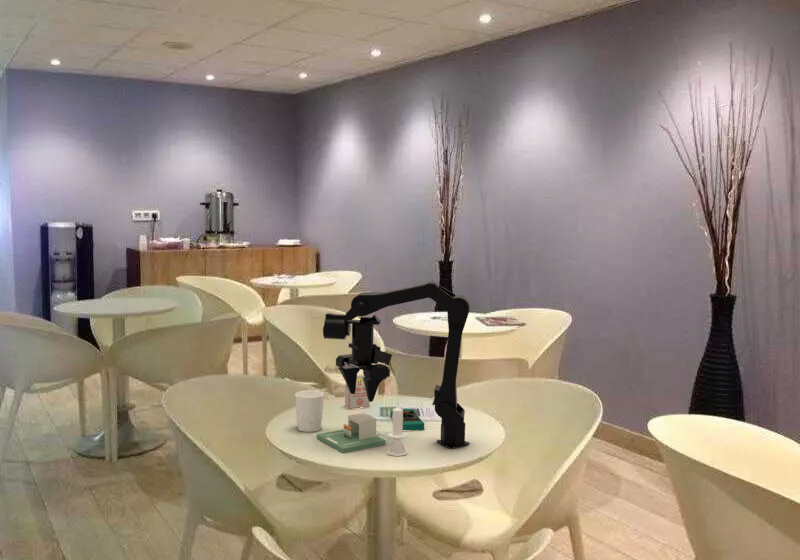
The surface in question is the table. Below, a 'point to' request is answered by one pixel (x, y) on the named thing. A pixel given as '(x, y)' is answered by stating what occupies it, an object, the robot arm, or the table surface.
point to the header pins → (347, 432)
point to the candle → (397, 434)
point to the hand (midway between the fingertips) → (361, 397)
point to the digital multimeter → (411, 420)
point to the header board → (349, 441)
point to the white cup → (309, 410)
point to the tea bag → (357, 395)
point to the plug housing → (362, 425)
